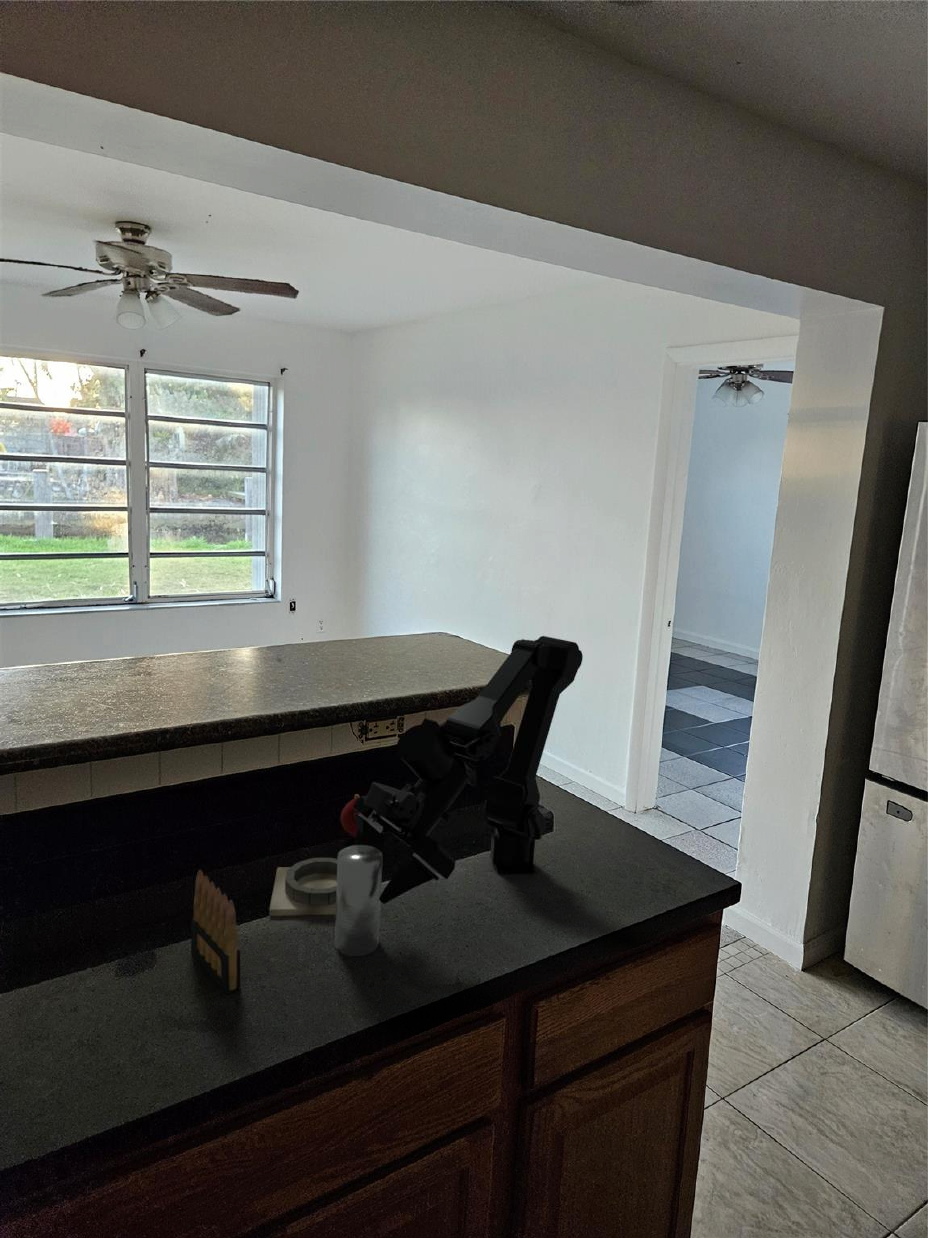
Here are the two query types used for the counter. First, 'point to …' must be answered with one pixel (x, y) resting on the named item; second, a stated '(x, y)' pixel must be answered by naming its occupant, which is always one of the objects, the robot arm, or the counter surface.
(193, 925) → the ammunition clip
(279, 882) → the socket plate
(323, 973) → the counter surface
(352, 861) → the steel peg
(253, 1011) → the counter surface
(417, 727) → the robot arm
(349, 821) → the onion
